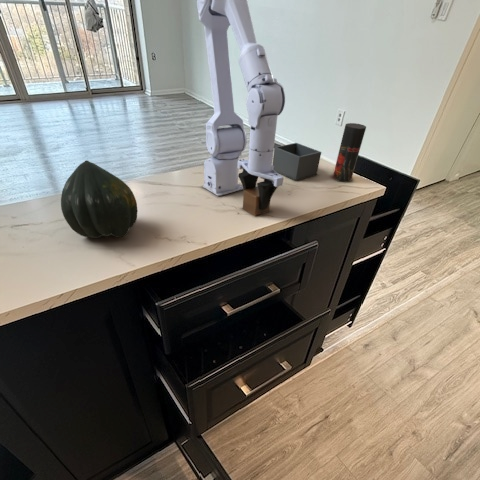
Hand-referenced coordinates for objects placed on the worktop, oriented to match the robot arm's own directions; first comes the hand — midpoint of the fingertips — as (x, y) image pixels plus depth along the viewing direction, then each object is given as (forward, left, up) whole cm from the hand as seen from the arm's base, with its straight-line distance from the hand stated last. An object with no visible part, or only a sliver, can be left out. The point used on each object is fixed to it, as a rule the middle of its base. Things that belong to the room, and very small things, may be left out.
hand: (256, 205), depth 83 cm
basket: (+29, +17, -1) cm, 34 cm away
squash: (-36, +11, -2) cm, 38 cm away
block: (0, 0, -1) cm, 1 cm away
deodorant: (+39, +2, -2) cm, 39 cm away
